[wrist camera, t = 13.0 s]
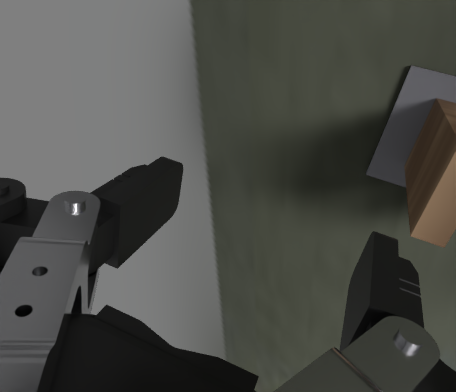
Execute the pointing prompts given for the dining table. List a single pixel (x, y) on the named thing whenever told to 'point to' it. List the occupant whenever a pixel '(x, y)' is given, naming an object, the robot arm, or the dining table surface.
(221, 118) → the dining table surface
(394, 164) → the felt strip
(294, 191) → the dining table surface
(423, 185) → the domino
